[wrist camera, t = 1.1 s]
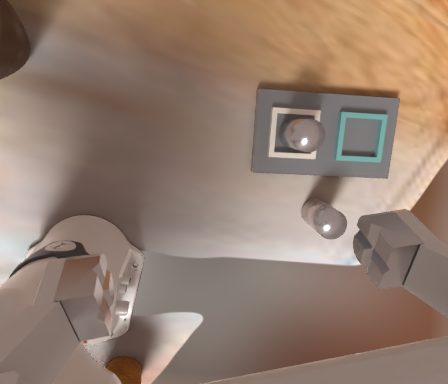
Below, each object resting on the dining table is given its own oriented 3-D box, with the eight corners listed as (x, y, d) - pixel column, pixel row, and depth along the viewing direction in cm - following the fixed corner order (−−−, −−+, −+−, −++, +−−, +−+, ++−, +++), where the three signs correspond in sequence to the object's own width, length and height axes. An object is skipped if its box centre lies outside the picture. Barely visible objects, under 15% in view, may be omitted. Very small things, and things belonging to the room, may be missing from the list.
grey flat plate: (382, 177, 59) (391, 179, 57) (250, 171, 57) (253, 173, 54) (394, 99, 56) (403, 98, 54) (257, 89, 54) (260, 88, 52)
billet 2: (325, 224, 60) (344, 239, 52) (299, 223, 59) (316, 238, 52) (328, 199, 59) (348, 211, 51) (302, 198, 59) (319, 210, 51)
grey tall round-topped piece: (304, 148, 55) (323, 153, 47) (277, 147, 55) (291, 151, 47) (307, 120, 54) (327, 119, 47) (280, 118, 54) (295, 117, 46)
